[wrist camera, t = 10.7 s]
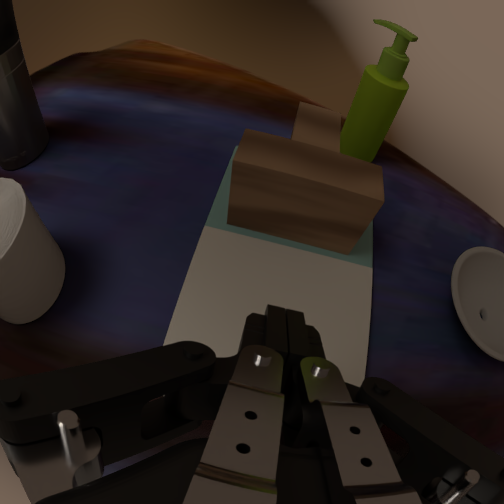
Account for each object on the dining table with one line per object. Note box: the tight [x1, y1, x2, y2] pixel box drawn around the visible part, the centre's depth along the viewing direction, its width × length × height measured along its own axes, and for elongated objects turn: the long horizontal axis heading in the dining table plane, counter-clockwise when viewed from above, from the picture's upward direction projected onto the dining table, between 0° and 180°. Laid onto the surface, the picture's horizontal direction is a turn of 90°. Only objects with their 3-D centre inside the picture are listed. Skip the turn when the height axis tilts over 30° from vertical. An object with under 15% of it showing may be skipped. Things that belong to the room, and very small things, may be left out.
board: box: [163, 146, 373, 396], centre depth 32 cm, size 30×18×1 cm, turn 168°
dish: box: [451, 247, 504, 362], centre depth 30 cm, size 18×14×5 cm
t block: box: [227, 102, 384, 255], centre depth 32 cm, size 12×13×9 cm
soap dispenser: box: [340, 20, 418, 162], centre depth 35 cm, size 6×7×20 cm
